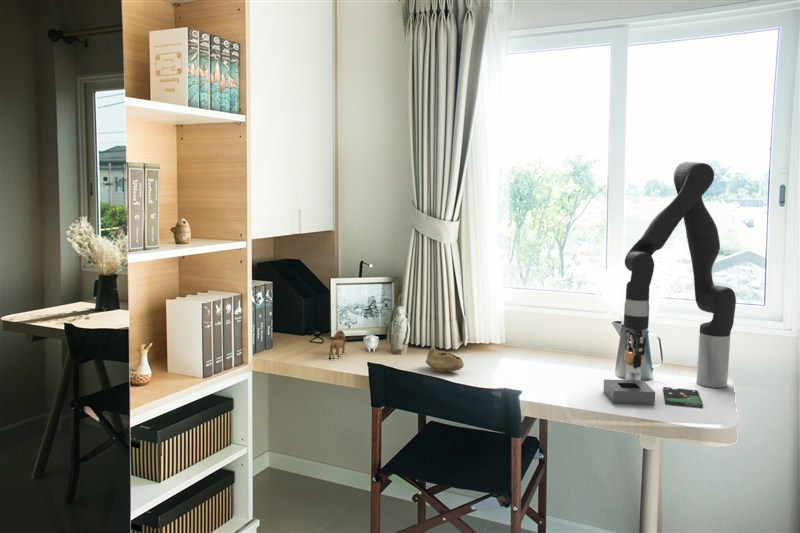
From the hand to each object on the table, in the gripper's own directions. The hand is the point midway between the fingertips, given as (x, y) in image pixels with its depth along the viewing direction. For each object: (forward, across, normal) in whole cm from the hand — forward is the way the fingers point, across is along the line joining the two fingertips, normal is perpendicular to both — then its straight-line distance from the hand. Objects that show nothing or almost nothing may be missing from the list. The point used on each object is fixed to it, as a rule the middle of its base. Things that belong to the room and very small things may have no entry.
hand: (634, 364), depth 209 cm
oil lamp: (+9, +16, +61) cm, 64 cm away
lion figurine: (+9, +34, +103) cm, 109 cm away
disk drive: (+9, -12, -11) cm, 19 cm away
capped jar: (+6, 0, 0) cm, 6 cm away
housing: (+8, -13, +5) cm, 16 cm away
